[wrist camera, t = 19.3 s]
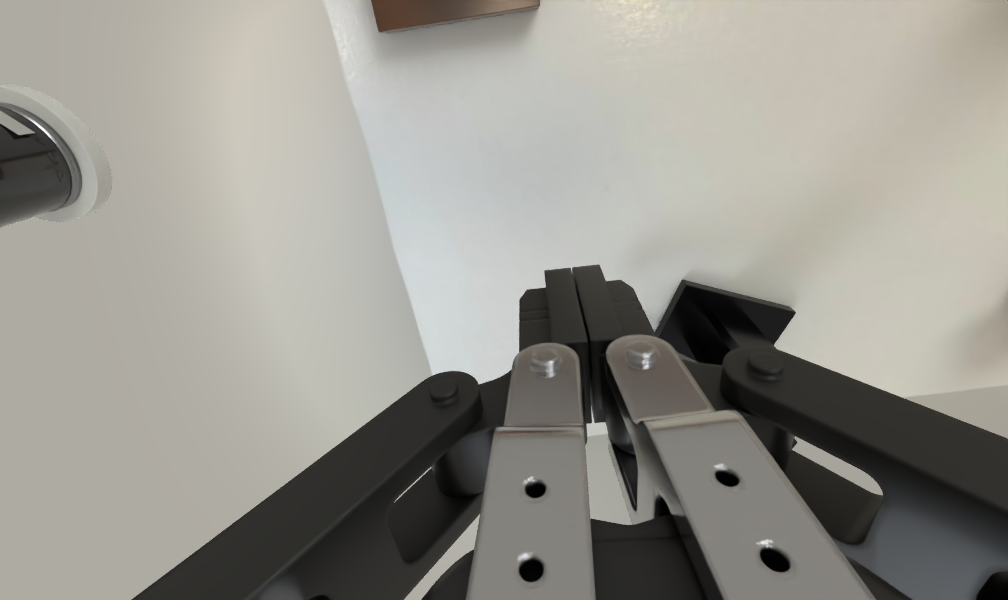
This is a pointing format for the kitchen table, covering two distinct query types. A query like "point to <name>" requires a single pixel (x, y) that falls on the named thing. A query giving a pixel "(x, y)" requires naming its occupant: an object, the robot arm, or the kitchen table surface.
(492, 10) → the button block
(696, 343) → the bracket
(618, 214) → the kitchen table surface
